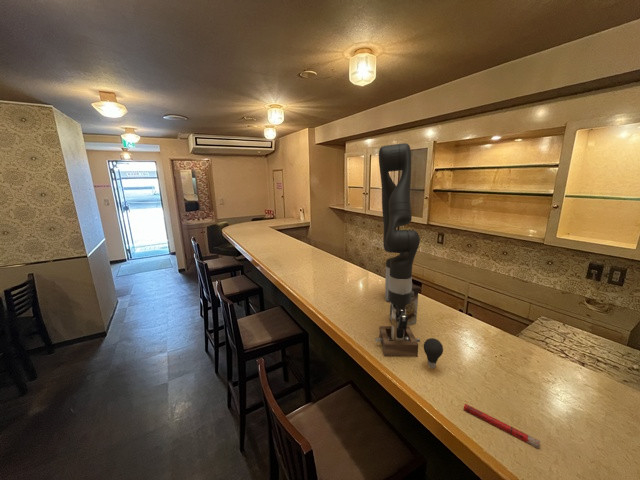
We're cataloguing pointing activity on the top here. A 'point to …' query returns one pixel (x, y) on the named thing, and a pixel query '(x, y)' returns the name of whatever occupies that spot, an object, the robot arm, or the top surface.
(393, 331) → the sprinkles bottle
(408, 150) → the robot arm
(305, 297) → the top surface
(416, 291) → the coffee box
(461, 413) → the top surface
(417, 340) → the plunger
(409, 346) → the brown wooden square frame
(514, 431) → the flare
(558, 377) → the top surface
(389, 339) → the plunger
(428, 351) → the light bulb
